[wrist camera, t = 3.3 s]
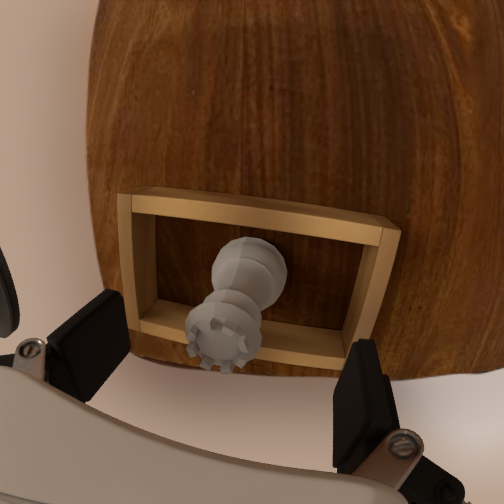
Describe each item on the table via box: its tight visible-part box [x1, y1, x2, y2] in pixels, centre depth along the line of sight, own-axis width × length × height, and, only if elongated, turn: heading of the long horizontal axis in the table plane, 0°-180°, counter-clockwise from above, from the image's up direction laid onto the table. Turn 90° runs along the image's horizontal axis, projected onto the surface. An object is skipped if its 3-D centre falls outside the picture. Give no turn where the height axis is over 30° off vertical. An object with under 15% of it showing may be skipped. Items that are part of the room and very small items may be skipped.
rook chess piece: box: [185, 237, 287, 374], centre depth 14 cm, size 4×4×8 cm
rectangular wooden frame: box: [117, 186, 401, 370], centre depth 17 cm, size 15×9×3 cm, turn 85°
